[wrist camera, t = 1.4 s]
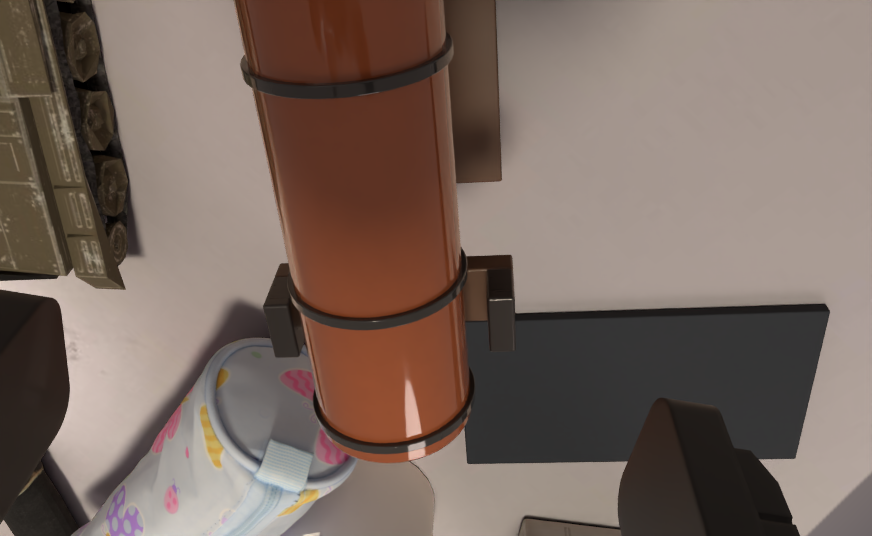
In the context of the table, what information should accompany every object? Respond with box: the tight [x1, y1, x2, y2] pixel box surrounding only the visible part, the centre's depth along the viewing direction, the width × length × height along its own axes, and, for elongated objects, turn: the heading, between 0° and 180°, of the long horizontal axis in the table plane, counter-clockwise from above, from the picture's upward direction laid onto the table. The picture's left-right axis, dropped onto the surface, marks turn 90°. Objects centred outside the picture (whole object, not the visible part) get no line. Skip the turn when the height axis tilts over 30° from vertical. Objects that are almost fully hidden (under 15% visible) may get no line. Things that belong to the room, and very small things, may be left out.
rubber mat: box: [465, 305, 830, 464], centre depth 42 cm, size 18×10×1 cm, turn 94°
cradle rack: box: [263, 0, 516, 358], centre depth 26 cm, size 7×14×14 cm, turn 4°
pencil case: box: [71, 338, 358, 536], centre depth 41 cm, size 21×9×10 cm, turn 143°
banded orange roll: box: [233, 0, 476, 463], centre depth 20 cm, size 5×16×5 cm, turn 5°
